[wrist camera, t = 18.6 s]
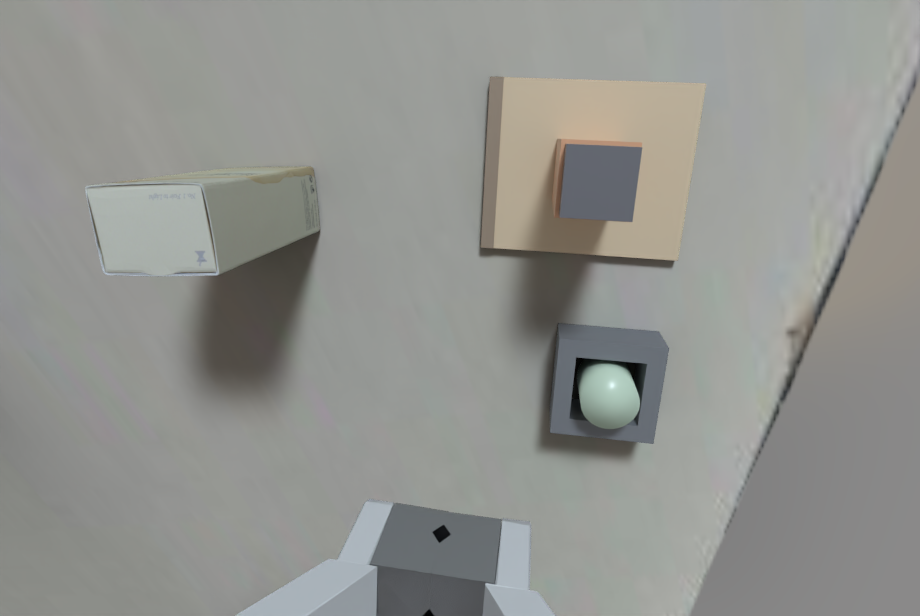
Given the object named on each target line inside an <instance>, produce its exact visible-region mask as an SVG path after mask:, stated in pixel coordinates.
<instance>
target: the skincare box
mask: <svg viewBox="0 0 920 616" xmlns="http://www.w3.org/2000/svg"><path fill="white" fill-rule="evenodd" d="M85 192H86V197H87V202H88V206H89V211H90V216H91V221H92V226H93V231H94V235H95V240H96V244H97V249H98V253H99V258H100V262H101V266H102V270H103V272H104V273H105V274H106V275H119V276H217V275H220V274H222V273H225V272H227V271H229V270H232V269H234V268H236V267H238V266H241V265H243V264H245V263H248V262H250V261H252V260H254V259H257V258H259V257H261V256H264V255H266V254H268V253H271V252H273V251H275V250H277V249H280V248H282V247H284V246H287V245H289V244H291V243H293V242H296V241H298V240H300V239H302V238H305V237H307V236H309V235H312V234H314V233H316V232H318V231H319V230H320V224H319V212H318V202H317V193H316V185H315V177H314V170H313V168H312V167H247V168H226V169H217V170H209V171H200V172H192V173H184V174H176V175H169V176H161V177H153V178H145V179H137V180H129V181H122V182H114V183H106V184H98V185H90V186H86V187H85Z"/></svg>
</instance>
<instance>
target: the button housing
mask: <svg viewBox="0 0 920 616" xmlns="http://www.w3.org/2000/svg"><path fill="white" fill-rule="evenodd" d="M668 351H669V347H668V346H667V344H666V342H665V341H664V339H663V337H662V336H661V334H660V333H659V332H657V331H645V330H633V329H621V328H609V327H597V326H586V325H574V324H562V323H558V331H557V341H556V351H555V361H554V371H553V381H552V391H551V401H550V433H558V434H567V435H576V436H585V437H595V438H604V439H613V440H623V441H632V442H641V443H650V444H653V443H654V437H655V431H656V425H657V418H658V412H659V406H660V400H661V394H662V388H663V382H664V376H665V370H666V364H667V358H668ZM576 357H578V358H589V359H600V360H611V361H622V362H633V363H636V370H635V377H634V384H635V387H636V389H637V392H638V395H639V398H640V407H639V411H638V413H637V415H636V417H635V418H634V419H633V420H632V421H631V422H630V423H628V424H627V425H625V426H623V427H620V428H616V429H604V428H600V427H597V426H595V425H593V424H592V423H591V422H589V421H588V420H587V419H586V417H585V416H584V414H583V412H582V409H581V404H580V399H572V390H573V381H574V372H575V363H576Z"/></svg>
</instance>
